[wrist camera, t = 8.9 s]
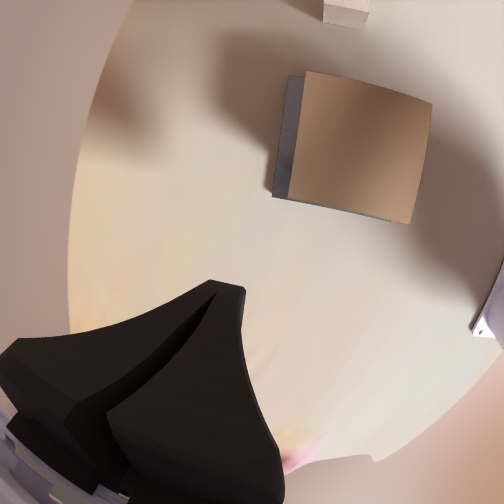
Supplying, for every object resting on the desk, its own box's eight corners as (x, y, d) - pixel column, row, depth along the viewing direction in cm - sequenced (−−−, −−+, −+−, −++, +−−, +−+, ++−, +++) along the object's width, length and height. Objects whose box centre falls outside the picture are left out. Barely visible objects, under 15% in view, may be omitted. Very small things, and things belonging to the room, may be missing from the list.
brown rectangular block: (390, 115, 14) (432, 104, 8) (376, 194, 16) (408, 225, 10) (308, 97, 15) (306, 70, 9) (296, 177, 17) (287, 197, 11)
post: (409, 105, 14) (446, 93, 9) (388, 218, 17) (415, 250, 12) (289, 77, 15) (279, 51, 10) (273, 194, 18) (256, 217, 13)
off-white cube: (362, 2, 12) (369, -18, 9) (361, 30, 13) (369, 12, 10) (325, -6, 12) (326, -26, 9) (322, 22, 13) (323, 3, 10)
